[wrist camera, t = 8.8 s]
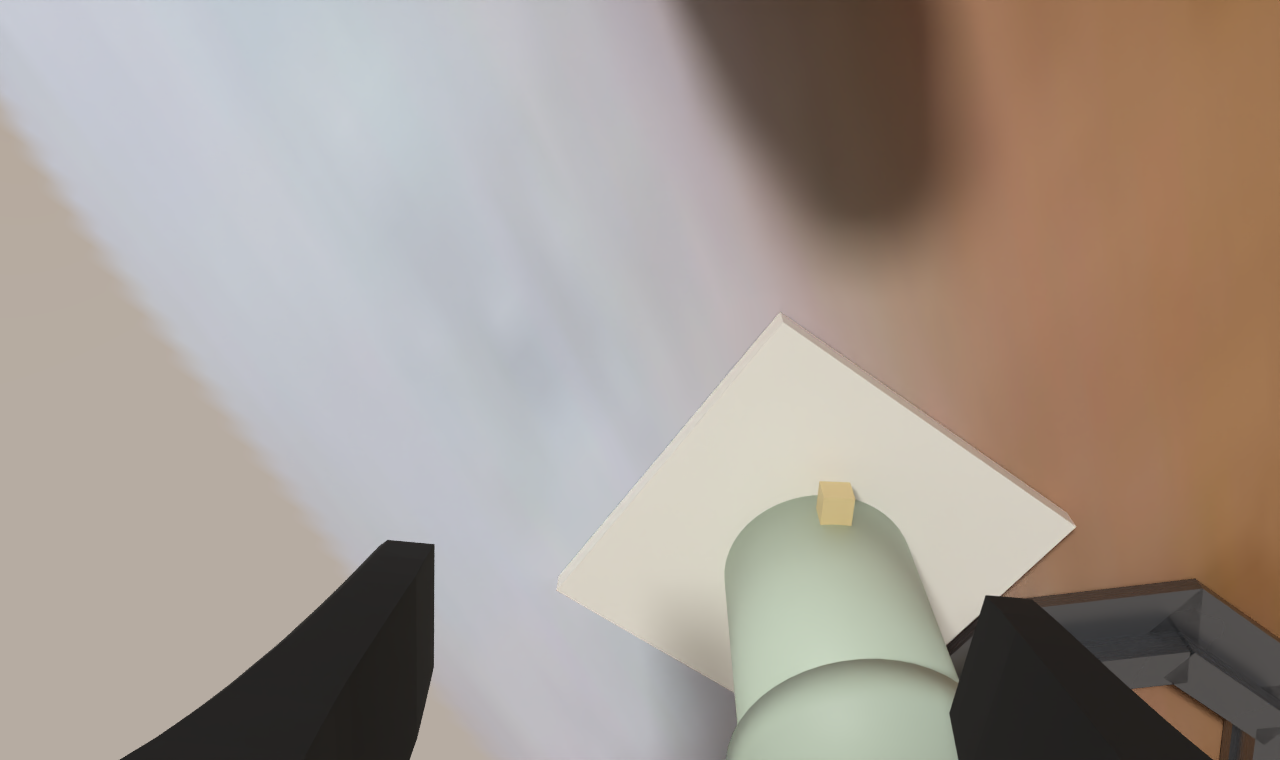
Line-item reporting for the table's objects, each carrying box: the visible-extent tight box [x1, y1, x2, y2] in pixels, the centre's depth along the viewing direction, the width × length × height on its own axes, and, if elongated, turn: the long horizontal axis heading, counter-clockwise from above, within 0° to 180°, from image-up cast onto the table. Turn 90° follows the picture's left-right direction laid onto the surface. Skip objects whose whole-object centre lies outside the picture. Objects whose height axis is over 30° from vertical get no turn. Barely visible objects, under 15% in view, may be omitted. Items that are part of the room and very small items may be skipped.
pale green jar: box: [724, 481, 959, 760], centre depth 21 cm, size 6×5×7 cm
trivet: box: [556, 312, 1076, 693], centre depth 25 cm, size 9×9×1 cm
